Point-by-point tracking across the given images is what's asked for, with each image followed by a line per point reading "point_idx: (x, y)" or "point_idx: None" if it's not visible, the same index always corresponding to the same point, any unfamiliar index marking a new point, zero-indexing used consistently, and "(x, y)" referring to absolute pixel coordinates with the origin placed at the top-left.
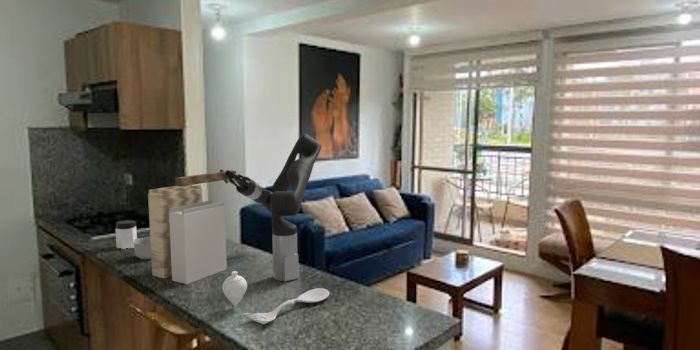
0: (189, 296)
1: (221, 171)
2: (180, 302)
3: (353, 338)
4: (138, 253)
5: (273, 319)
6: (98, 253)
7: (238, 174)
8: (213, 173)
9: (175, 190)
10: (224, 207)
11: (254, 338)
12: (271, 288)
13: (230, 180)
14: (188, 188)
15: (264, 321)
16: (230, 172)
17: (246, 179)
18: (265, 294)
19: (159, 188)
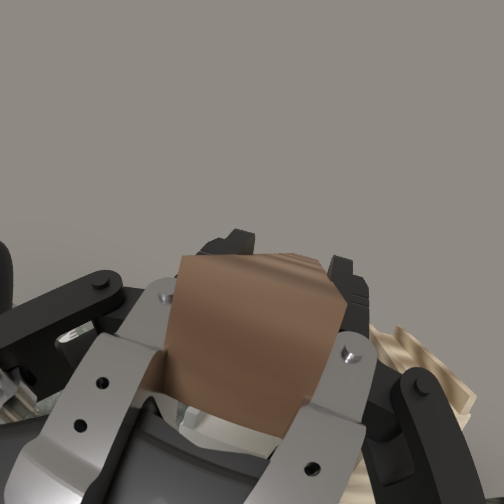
0: (177, 420)
1: (328, 273)
2: (181, 406)
3: (12, 308)
4: None
5: (62, 337)
6: (496, 499)
7: (115, 272)
8: (292, 259)
9: (369, 338)
10: (179, 429)
11: (82, 332)
12: (44, 413)
13: (267, 454)
14: (383, 361)
15: (72, 330)
16: (207, 247)
17: (7, 334)
18: (56, 398)
19: (409, 334)
